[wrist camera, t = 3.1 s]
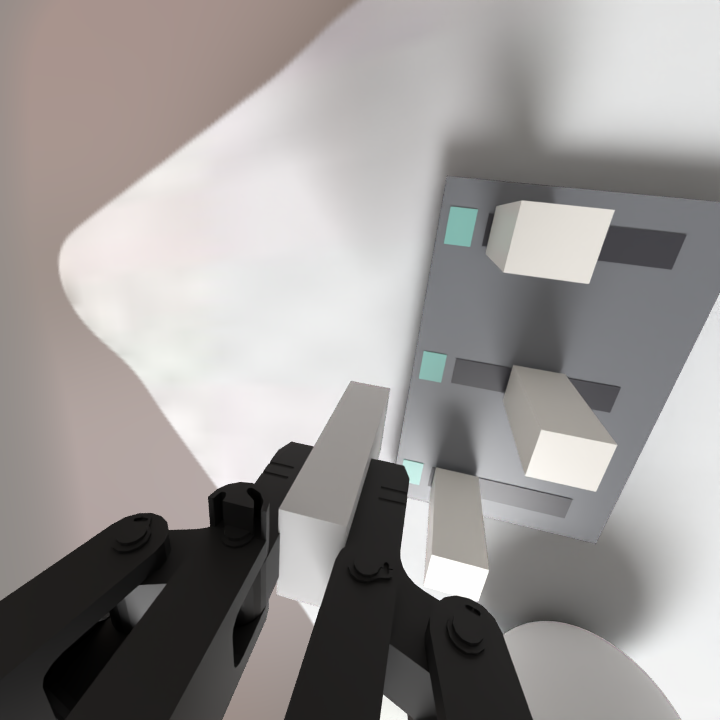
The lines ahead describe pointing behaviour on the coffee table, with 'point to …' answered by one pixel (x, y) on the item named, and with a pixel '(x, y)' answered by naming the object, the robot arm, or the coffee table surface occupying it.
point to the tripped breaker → (556, 429)
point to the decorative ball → (581, 676)
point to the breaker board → (554, 343)
